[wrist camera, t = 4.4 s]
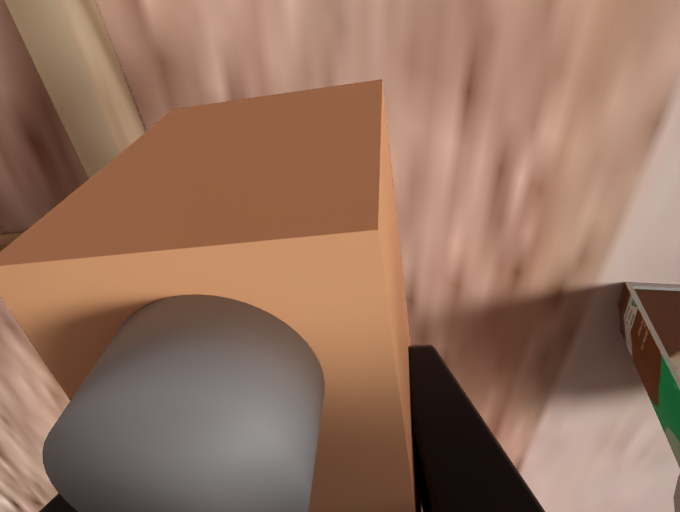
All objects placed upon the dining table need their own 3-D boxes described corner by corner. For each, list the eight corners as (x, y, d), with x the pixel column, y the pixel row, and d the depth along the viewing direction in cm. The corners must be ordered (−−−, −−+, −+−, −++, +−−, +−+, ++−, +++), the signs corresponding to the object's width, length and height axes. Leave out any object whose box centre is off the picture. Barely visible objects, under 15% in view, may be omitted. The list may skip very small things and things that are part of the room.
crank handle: (382, 79, 7) (374, 333, 2) (424, 474, 11) (446, 787, 7) (174, 109, 7) (-141, 366, 3) (299, 476, 12) (252, 771, 8)
